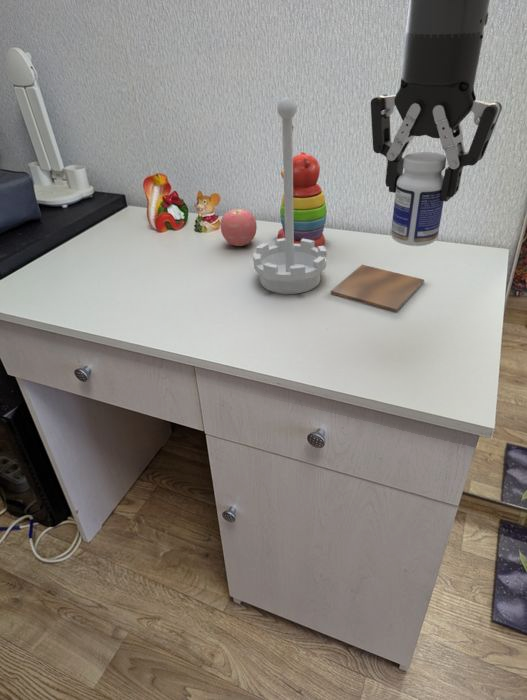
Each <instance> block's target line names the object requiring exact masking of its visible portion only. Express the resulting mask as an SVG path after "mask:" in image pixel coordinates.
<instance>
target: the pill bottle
mask: <svg viewBox="0 0 527 700" xmlns="http://www.w3.org/2000/svg"><path fill="white" fill-rule="evenodd" d="M403 158H404V163H403V174H402V175H401V176H400V177H399V178H398V180H397V185H396V192H395V193H394V194H395V196H394V202H393V203H394V204H393V212H392V220H391V221H392V222H391V231H390V235H391V238H392V239H393V241H395V242H396V243H398V244H401V245H404V246H410V247H423V246H428V245H431V244H433V243H434V242H436V241H437V239H438V237H439V232H440V226H441V219H442V213H443V207H444V203H445V201H440V197H441V191H442V186H443V180H444V175H443V171H444V170H445V169H446V164H447V157H446V155H444V154H442V153H438V152H431V151H419V152H418V151H417V152H411V153H409V154H406V155H405V156H404V157H403Z"/></svg>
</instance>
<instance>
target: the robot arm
mask: <svg viewBox="0 0 527 700" xmlns="http://www.w3.org/2000/svg"><path fill="white" fill-rule="evenodd" d="M490 3H491V0H409V2H408V8H407V9H408V10H407V18H406V27H405V34H404V35H405V36H404V43H403V44H404V45H403V52H402V53H403V54H402V63H401V71H400V73H401V74H400V84H399V88H398V90H397V92H396V94H393V95H388V94H381V95H378V96H376V97H373V98H372V99H371V101H370V119H371V136H372V150H373V152H374V153H375V154H380V155H382V156H384V157H385V158H386V161H387V162H386V163H387V164H386V171H385V172H386V173H385V180H384V181H385V182H384V183H385V186H386V187H387V188H388V192H389V193H393V194H395V193H396V185H397V180H398V178H399V177H400V176H401V175H402V174H403V173H404V168H403V163H404V157H403V155H404V153H405V152H406V150H407V148H408V146H409V145H410V143H411V142H412V140H414V138H415V137H424V136H427V137H430V138H432V139H439V140H440V144H441V148H442V150H443V151H444V153H445V156H446V162H447V165H448V166H447V167H445V169H444V175H443V176H444V180H443V186H442V191H441V197H440V201H444V203H445V202H448V201H449V200H450V199H451V198H453V197H454V196H455V195H457V193H458V191H459V189H460V184H461V178H462V174H463V169H464V167H467V166H470V167H473V166H475V165H476V164H477V163H478V162H479V161H481V160H482V159H483V157H484V156H485V154H486V151H487V148H488V146H489V144H490V141H491V138H492V135H493V132H494V130H495V128H496V125H497V122H498V120H499V118H500V114H501V112H502V109H503V105H502V104H501V103H500V102H498V101H494V102H493V103H491V102H486V101H483V100H479V99H477V96H476V94H475V82H476V77H477V71H478V66H479V61H480V57H481V51H482V50H481V49H482V46H483V40H484V34H485V29H486V26H487V24H488V19H489V8H490ZM394 108H396V110H397V113H398V114H399V116H400V118H401V120H402V122H401V124H400V126H399V128H398V130H397V131H396V134H395V136H394V138H393V142H392V139H391V137H392V136H391V115H393V113H394ZM471 112H472V113H473V116H474V117H473V123H474V124H475V125H476V126H477V128H476V130H475V132H474V133H475V134H474V136H473V139H472V141H471V144H470V147H469V149H468V151H465V146H464V134H463V130H462V127H461V122H463V121H464V119H465V118H467V116H468V115H469V114H470V113H471Z"/></svg>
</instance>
